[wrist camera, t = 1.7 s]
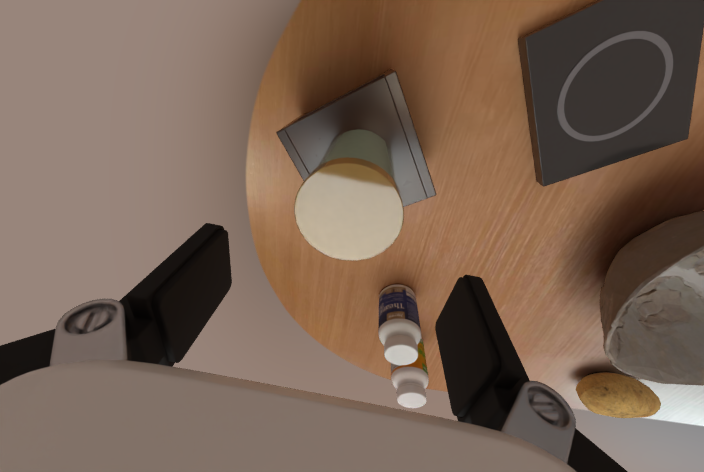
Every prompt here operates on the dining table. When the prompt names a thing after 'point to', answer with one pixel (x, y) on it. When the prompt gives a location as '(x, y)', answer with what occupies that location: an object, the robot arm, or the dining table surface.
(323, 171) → the jar
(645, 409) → the potato
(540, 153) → the hob
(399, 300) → the pill bottle
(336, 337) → the dining table surface
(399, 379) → the supplement bottle
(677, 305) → the ceramic bowl
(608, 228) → the dining table surface
